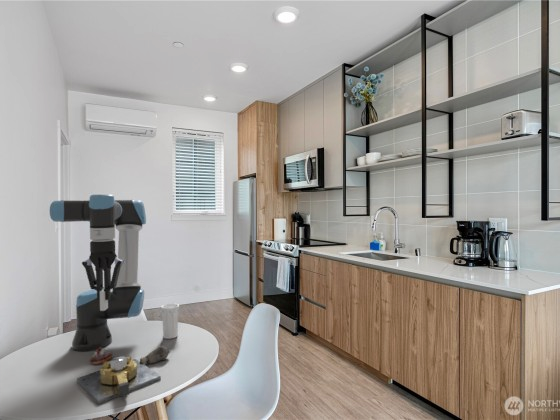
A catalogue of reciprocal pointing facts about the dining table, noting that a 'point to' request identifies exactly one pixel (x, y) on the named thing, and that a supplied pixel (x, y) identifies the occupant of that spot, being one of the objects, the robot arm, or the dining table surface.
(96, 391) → the base plate
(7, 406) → the dining table surface
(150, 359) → the stone
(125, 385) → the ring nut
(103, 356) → the pastry
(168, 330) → the cup
